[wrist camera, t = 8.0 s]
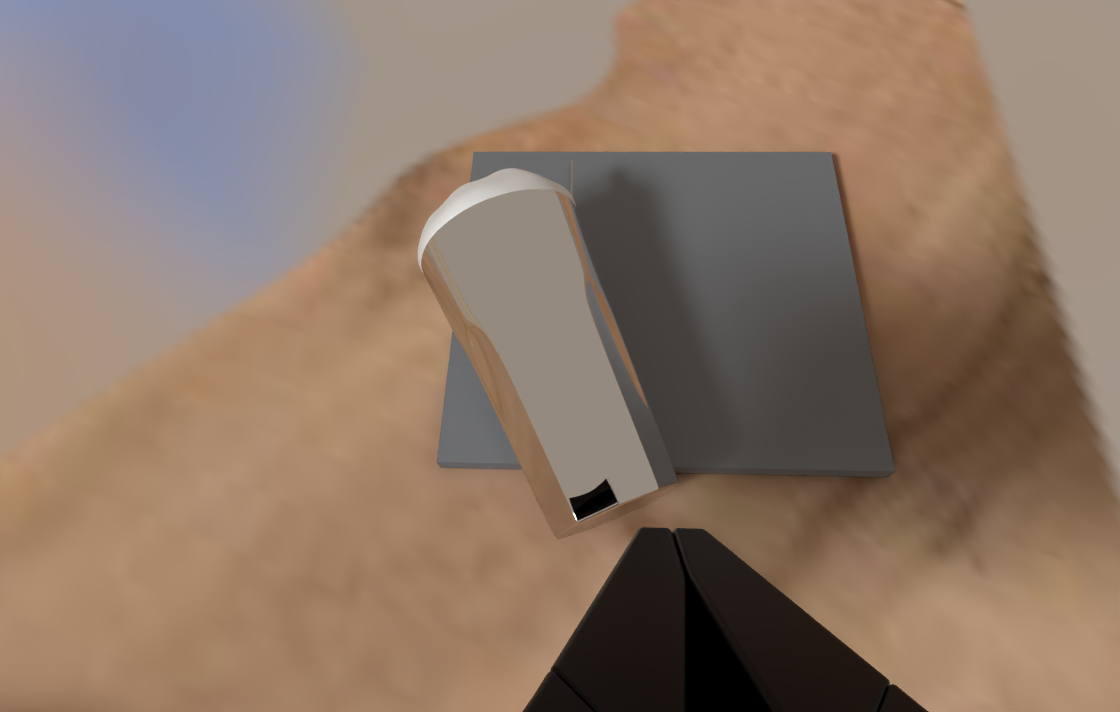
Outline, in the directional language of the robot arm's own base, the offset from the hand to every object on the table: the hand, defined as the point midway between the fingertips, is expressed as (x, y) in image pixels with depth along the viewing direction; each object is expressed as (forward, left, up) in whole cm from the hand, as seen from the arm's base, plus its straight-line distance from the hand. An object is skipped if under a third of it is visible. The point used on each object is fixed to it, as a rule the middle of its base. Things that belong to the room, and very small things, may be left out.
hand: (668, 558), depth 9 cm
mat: (+9, -1, -9) cm, 13 cm away
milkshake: (+2, 0, -7) cm, 7 cm away
